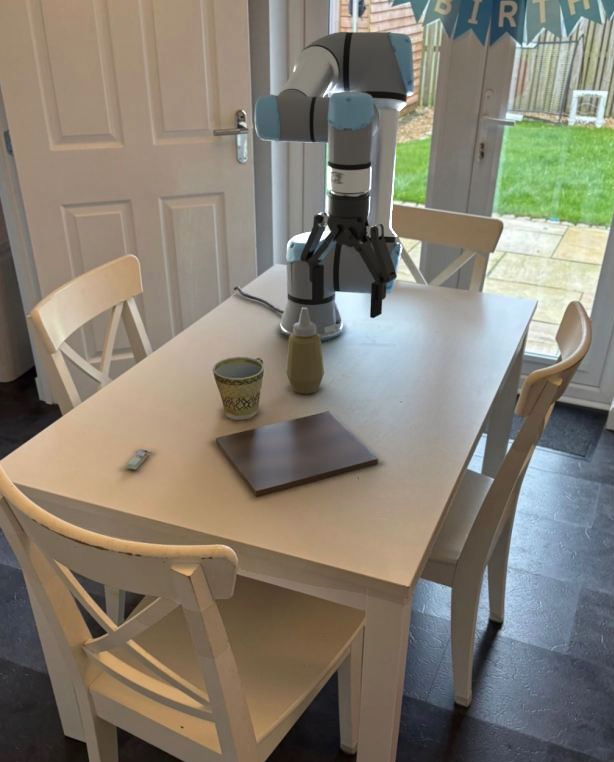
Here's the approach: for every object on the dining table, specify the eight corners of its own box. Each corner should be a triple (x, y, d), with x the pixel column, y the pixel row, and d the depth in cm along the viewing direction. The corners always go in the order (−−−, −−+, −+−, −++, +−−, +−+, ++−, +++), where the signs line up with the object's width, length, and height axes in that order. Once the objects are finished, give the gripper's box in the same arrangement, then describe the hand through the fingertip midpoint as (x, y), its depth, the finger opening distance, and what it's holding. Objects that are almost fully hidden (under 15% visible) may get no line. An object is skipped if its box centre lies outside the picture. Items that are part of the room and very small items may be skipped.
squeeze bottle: (330, 384, 169) (331, 304, 159) (314, 400, 163) (314, 318, 153) (296, 377, 172) (295, 298, 162) (279, 392, 166) (277, 311, 156)
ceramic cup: (246, 429, 153) (243, 383, 148) (206, 415, 158) (202, 370, 152) (283, 402, 162) (282, 358, 157) (244, 390, 167) (242, 347, 161)
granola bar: (136, 472, 140) (135, 467, 140) (124, 470, 141) (123, 465, 140) (152, 453, 146) (151, 448, 145) (140, 451, 146) (140, 446, 146)
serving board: (215, 443, 149) (215, 437, 148) (328, 416, 158) (328, 410, 157) (256, 497, 134) (255, 491, 133) (377, 464, 143) (378, 458, 142)
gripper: (280, 184, 141) (283, 298, 153) (397, 207, 128) (390, 329, 140) (306, 177, 146) (306, 287, 158) (421, 198, 133) (412, 316, 145)
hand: (346, 307), depth 149 cm, fingers open, 13 cm apart
